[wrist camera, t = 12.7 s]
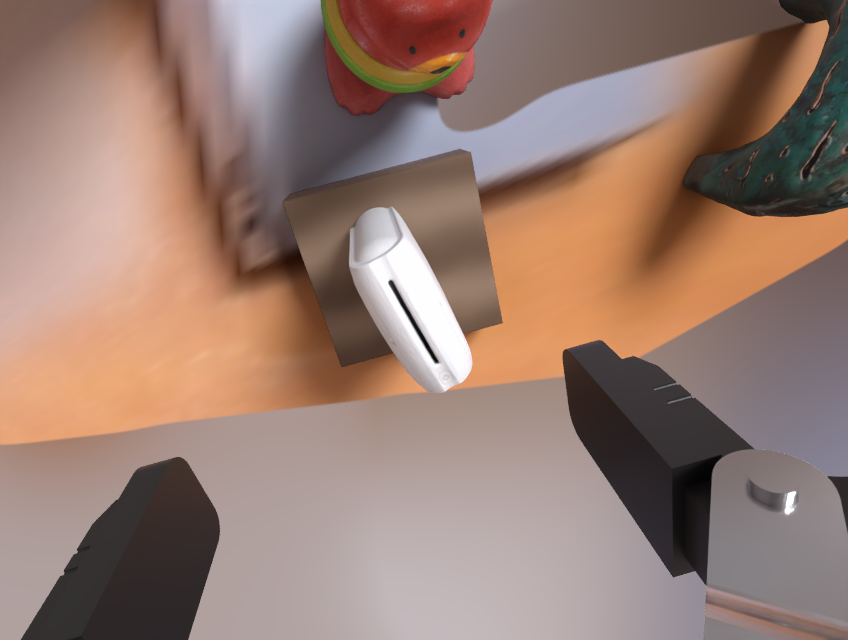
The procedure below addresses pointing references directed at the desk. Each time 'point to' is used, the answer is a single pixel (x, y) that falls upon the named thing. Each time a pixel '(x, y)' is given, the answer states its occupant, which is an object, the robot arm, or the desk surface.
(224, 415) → the desk surface
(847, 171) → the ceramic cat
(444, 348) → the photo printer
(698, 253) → the desk surface
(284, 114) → the desk surface
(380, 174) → the walnut block
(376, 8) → the stacking bear
